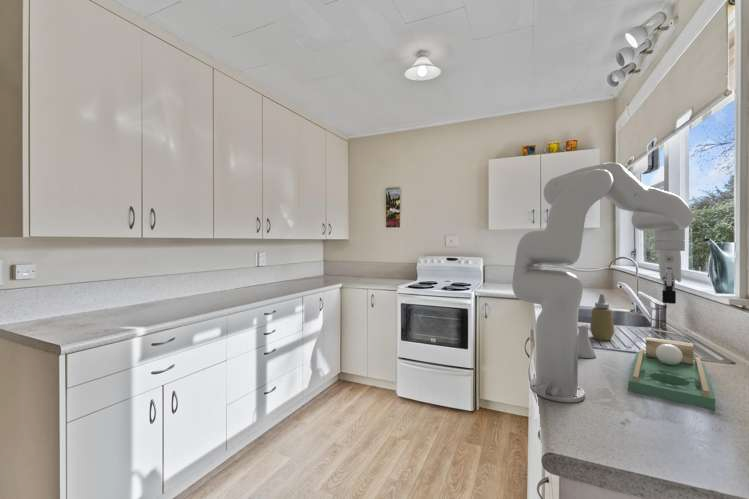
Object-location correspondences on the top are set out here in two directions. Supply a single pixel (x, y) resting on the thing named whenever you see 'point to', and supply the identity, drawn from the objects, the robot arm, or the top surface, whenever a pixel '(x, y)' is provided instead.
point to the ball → (669, 354)
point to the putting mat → (672, 380)
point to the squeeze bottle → (602, 320)
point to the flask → (584, 343)
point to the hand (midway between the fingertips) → (668, 302)
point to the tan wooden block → (684, 347)
